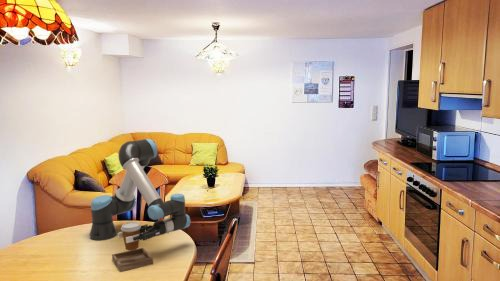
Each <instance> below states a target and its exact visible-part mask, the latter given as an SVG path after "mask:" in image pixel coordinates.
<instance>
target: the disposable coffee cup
mask: <svg viewBox="0 0 500 281" xmlns="http://www.w3.org/2000/svg"><path fill="white" fill-rule="evenodd" d="M141 226H142V225H140V223H139V222H138V221H137V222H135V221H129V222H125V223H123V224H121V227H120V230H121V232H122V233H123V243H124V247H125V250H126V251H130V250H135V249H139V247H140V246H139V245H140V239H139V240H137V241H133V242H129V243H126V237H129V236H133V235H137V234H139V233H140V227H141Z"/></svg>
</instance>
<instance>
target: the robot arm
mask: <svg viewBox="0 0 500 281" xmlns="http://www.w3.org/2000/svg"><path fill="white" fill-rule="evenodd" d="M157 155H158V147H157V144H156V143H155V141H154V140H152V139H150V138H142V139H137V140H136V139H135V140H130V141H126V142H124V143H123V144H122V145H121V146H120V147H119V149H118V161H119V164H120V165H121V167H122V169H123V170H125V171H126V172H125V174H124V177H123V179H122V182H121V184H120V187H119V188H118V189H116V190H115V192H114V195H109V194H104V195H98V196H96V197H94V198H92V199H91V201H90V204H91V205H90V210H91V228H90V231H89V239H91V240H94V241H102V240H103V241H105V240H109V239H112V238H115V237H116V236H117V237H118V239H122V238H123V233H122V231H120V232H118V231H117V228H116V226H115V223H114V216H117V215H121V214H125V213H128V212H130V211H132V210H133V209H134V208H136V204H137V201H136V199H137V198H136V196H135V190H136V188H137V190H138V191H139V193H140V195H141V196H142V199H144V201H145V202H146V204H147V206H148V208H147V215H148V217H149V219H151V220H153V221H154V222H153V224H152V225H151V224H150V225H148V224H147V223H146V224H144V225H140V226H141V227H140V233H139V234H137V235H133V236H129V237H126V243H129V242H133V241H137V240H139V241H141V240H142V241H147V240H149V239H151V238H154V237H158V236H163V235H166V234H170V233H173V232H176V231H179V230H185V229H186V228H188V227H190V225H191V217H190V215H188V214H187V213H186V198H185V195H184V194H182V193H173V194H171V196H170V198H169V199H170V200H166V201H164V200H163V199H162V198H161V196H160V195H159V193H158V191H157V190H156V188H155V187H154V184H153V183H152V181H151V180H150V178H149V177H148V175H147V173H146V172H145V170H144V169H145V167H146V166H148V165H149V163H150V161H151V160H152V159H154V158H156V157H157ZM168 216H171V217H168ZM166 217H167V218H166ZM162 218H164V219H162ZM123 239H124V238H123Z"/></svg>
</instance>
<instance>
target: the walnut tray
mask: <svg viewBox="0 0 500 281" xmlns="http://www.w3.org/2000/svg"><path fill="white" fill-rule="evenodd" d="M153 259H154V258H153V257H152V256H151V255H150V253H149V252H148V251H147V250H146V249H145V248H144V247H141V248H139V247H138V248H137V249H135V250H126V251H122V252H117V253H114V254H111V260H112V262H113V263H114V265H115V266H116V268H117V270H118V271H119V272H120V273H123V272H125V271H130V270H134V269H138V268H142V267H147V266H151V265H154V260H153Z"/></svg>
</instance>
